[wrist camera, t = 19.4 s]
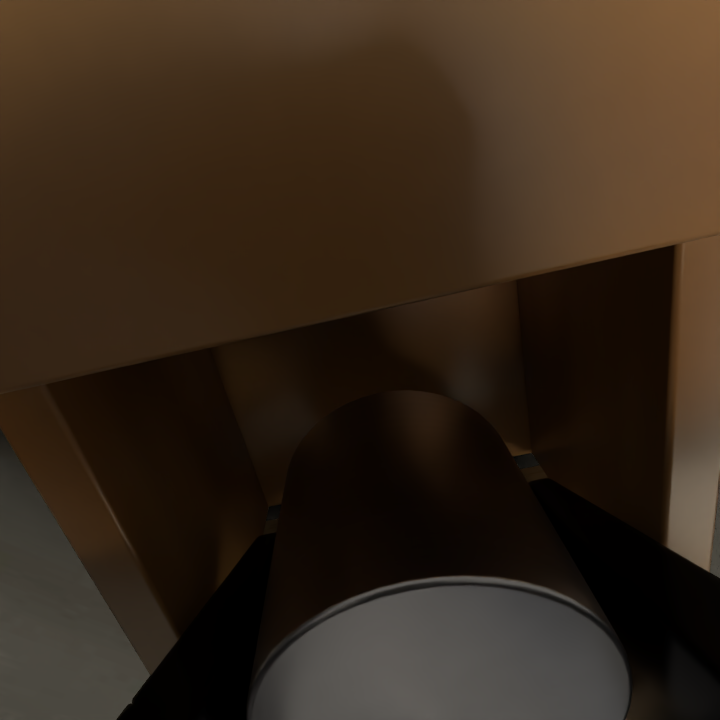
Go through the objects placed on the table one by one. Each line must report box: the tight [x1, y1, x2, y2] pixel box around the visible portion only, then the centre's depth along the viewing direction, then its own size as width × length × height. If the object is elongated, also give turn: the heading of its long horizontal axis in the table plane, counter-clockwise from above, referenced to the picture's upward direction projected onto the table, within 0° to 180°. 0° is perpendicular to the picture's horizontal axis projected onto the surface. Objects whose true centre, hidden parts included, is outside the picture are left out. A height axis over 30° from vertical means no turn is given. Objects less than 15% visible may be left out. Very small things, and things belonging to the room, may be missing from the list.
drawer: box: [0, 235, 720, 720], centre depth 10 cm, size 18×10×7 cm, turn 12°
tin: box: [246, 390, 633, 720], centre depth 8 cm, size 5×5×4 cm
